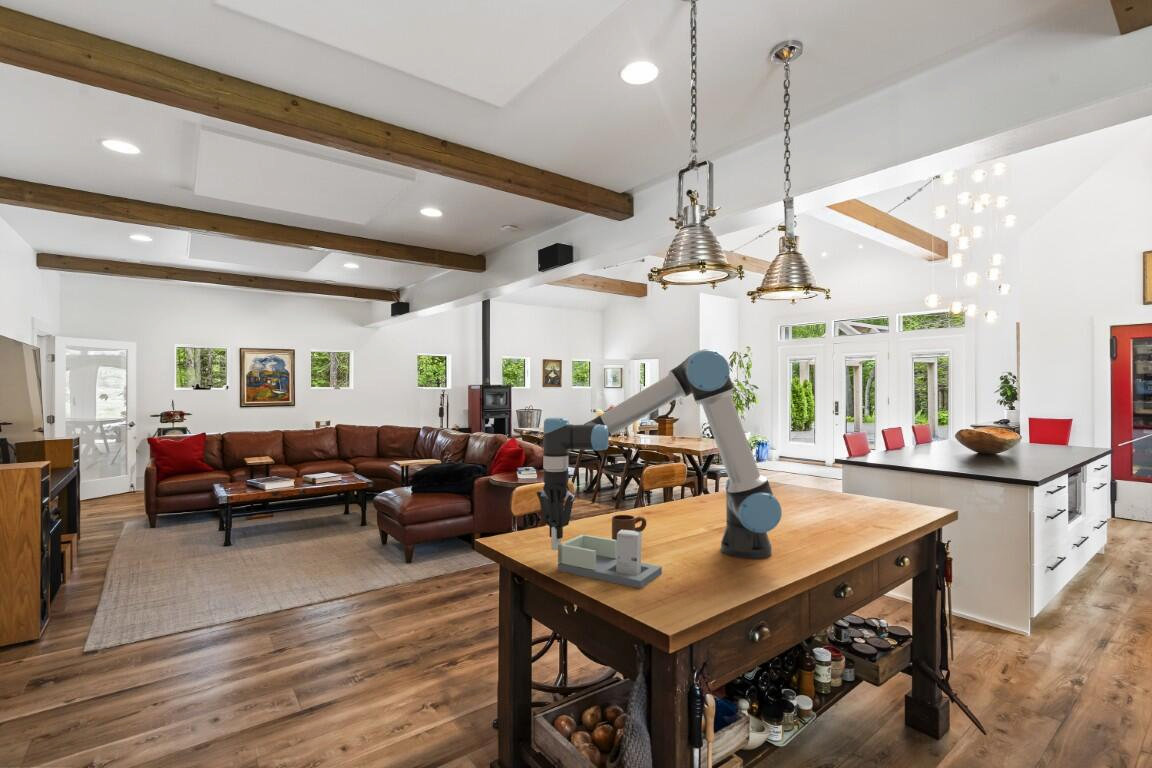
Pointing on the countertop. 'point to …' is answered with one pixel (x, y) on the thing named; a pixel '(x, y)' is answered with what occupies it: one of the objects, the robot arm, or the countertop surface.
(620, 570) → the skincare box
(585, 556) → the housing
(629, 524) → the mug
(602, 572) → the board
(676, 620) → the countertop surface
